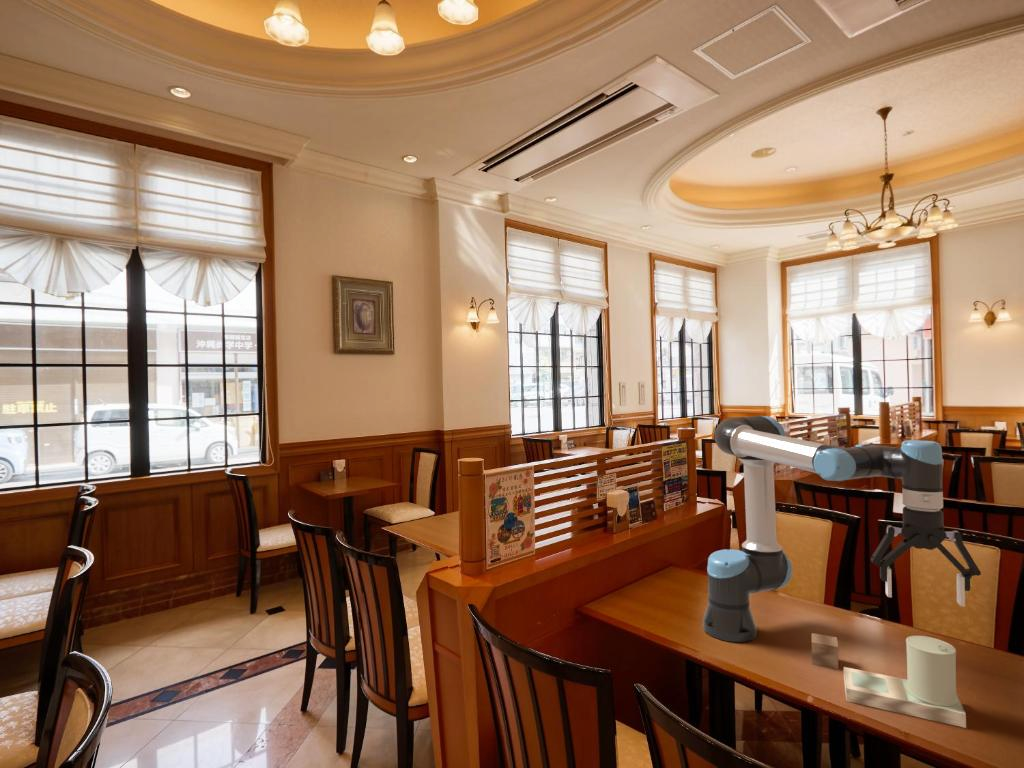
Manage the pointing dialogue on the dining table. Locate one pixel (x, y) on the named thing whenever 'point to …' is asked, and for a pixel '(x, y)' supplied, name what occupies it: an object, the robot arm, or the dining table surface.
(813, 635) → the cube
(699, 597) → the dining table surface
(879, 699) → the board
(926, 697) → the can
